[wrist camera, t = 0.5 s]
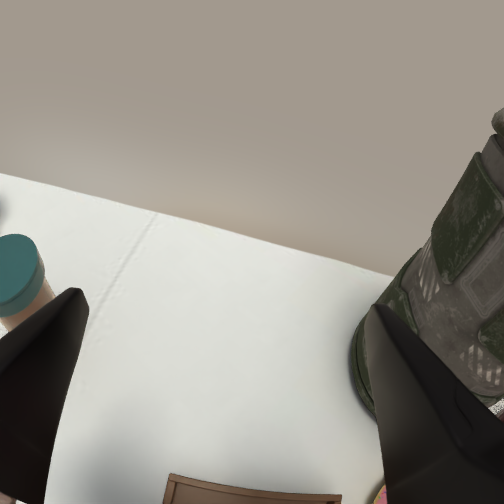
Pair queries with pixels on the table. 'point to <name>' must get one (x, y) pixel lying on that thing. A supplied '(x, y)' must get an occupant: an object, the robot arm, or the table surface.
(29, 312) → the jar
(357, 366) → the canister
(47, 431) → the robot arm
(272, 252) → the table surface
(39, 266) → the lid
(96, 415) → the table surface
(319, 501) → the tray
